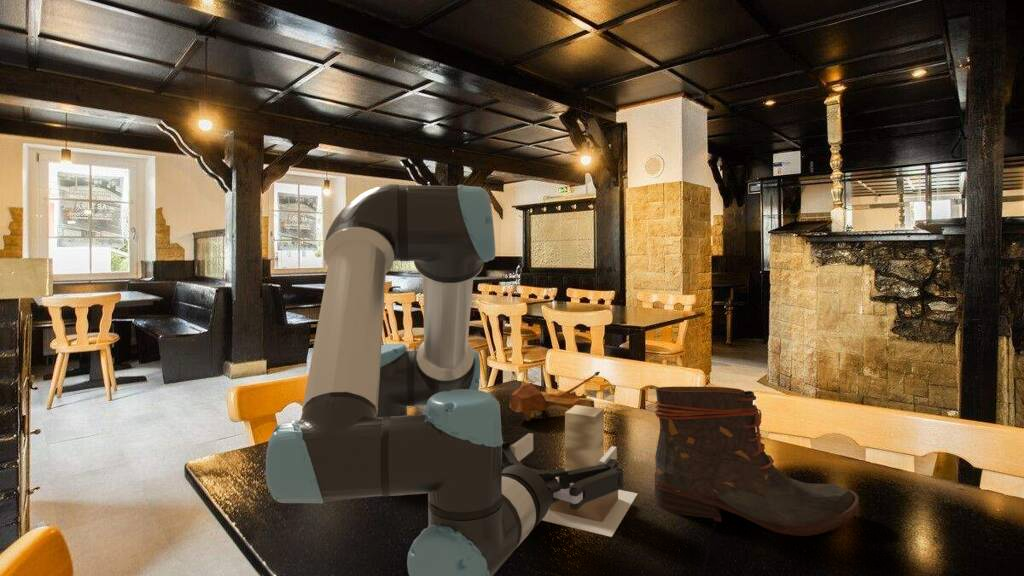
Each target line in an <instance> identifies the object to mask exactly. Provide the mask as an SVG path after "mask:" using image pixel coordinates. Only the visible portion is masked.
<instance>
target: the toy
mask: <svg viewBox="0 0 1024 576" xmlns="http://www.w3.org/2000/svg"><path fill="white" fill-rule="evenodd" d="M600 373H601V371H596V372H594V374H593V375H592V376H590V377H589V378H587V379H585V380H583V381H581V382H580V383H579V384H577V385H576V386H574V387H572V388H570V389H569V390H567V391H559V392H557V393H555V394H553V393H549V392H546V391H540V390H539V389H538V388H537V387H536V386H535V385H534V384H533V383H530V382H529V379H522V381H521V384H520V387H519V388H517V389H515V390H514V391H513V392H512V394H511V395H510V398H509V399H510V400H509V404H508V408H510V409H511V410H512V411H513V412H515V413H521V412H522V414H523V417H524V418H525V419H526V421H527V422H528V421H529V422H530V421H531V420H532V418H534V417H536V416H537V417H538V416H540V415H541V414H543V411H547V410H549V409H553V408H556V407H558V406H559V407H562V408H566V409H568V410H569V409H571V408H572V407H574V406H575V405H580V406H587V407H595V408H596V406H595V400H594V399H593V398H591V397H587V395H586V394H584V393H583V394H581V395H577V393H576V391H575V390H576V389H577V388H579V387H581V386H582V385H584V384H585V383H587V382H588V381H590V380H591V379H594V377H596V376H597V377H598V376H599V375H600Z"/></svg>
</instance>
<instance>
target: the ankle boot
mask: <svg viewBox="0 0 1024 576" xmlns="http://www.w3.org/2000/svg"><path fill="white" fill-rule="evenodd" d="M655 394H656V395H655V396H656V401H655V404H656V405H655V409H656V410H655V411H654V413H655V416H656V417H657V418H658V420H659V435H658V440H657V446H656V451H655V455H654V456H655V458H654V459H655V473H654V503H655V505H656V507H658V508H660V509H661V510H663V511H665V512H669V513H673V514H677V515H684V516H691V517H700V518H709V519H714V520H713V521H714V522H719V523H722V520H723V519H722V513H721V510H724V511H726V512H729V513H732V514H733V515H736V516H739V517H740V518H743V519H745V520H747V521H748V522H751V523H753V524H756V525H758V526H759V527H761V528H764V529H766V530H769V531H772V532H774V533H779V534H783V535H791V536H798V537H806V536H807V537H808V536H809V537H810V536H811V537H812V536H815V535H816V536H817V535H819V534H824V533H827V532H829V531H833V530H835V529H836V528H838V527H840V526H841V525H843V524H845V523H846V522H848V521H850V520H851V519H853V518H855V517H856V515H857V514H858V512H859V508H860V507H859V505H860V504H859V499H860V498H859V496H858V495H857V493H856V492H855V491H853V490H851V489H848V488H845V487H843V486H840V485H837V484H834V483H807V482H804V481H800V480H796V479H793V478H790V477H788V476H787V475H786V474H785V473H783V472H782V471H780V469H778V468H776V466H775V465H774V462H775V460H774V459H773V458H772V456H771V455H769V454H767V453H766V452H765V450H766V449H765V448H766V446H765V443H763V442H762V441H761V437H762V433H761V431H760V426H761V423H762V410H760V409H759V408H758V406H757V405H756V404H754V401H756V400H757V396H756V395H755V392H754V391H753V390H743V389H741V388H735V387H725V386H659V387H656V388H655Z"/></svg>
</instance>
